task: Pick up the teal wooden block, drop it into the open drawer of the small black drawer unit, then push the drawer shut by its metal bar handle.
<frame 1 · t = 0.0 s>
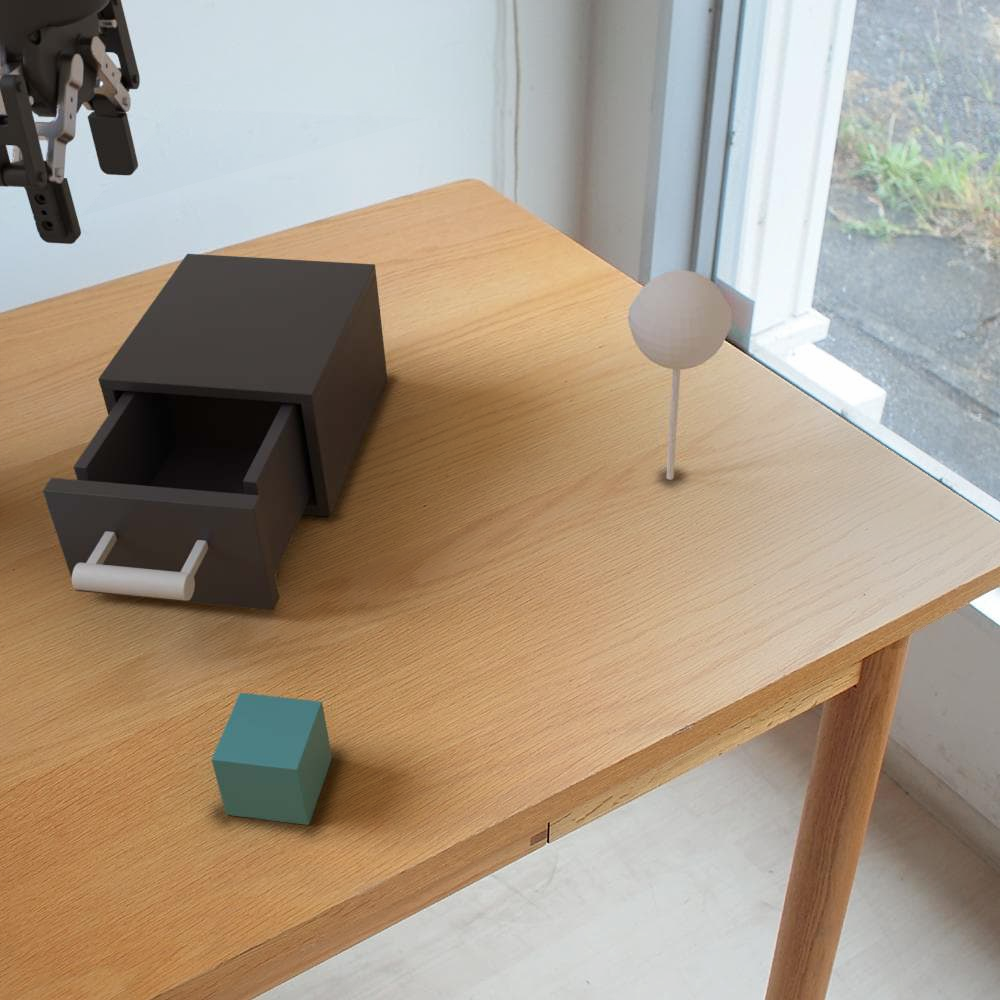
hand: (92, 205, 78), 19 cm above the table, tool pointing down, fingers open, 8 cm apart
drawer: (191, 495, 79), point 5 cm above the table, slide at 8.5 cm
cabinet: (266, 436, 92), on the table
block: (280, 785, 68), on the table
lollipop: (669, 480, 87), on the table
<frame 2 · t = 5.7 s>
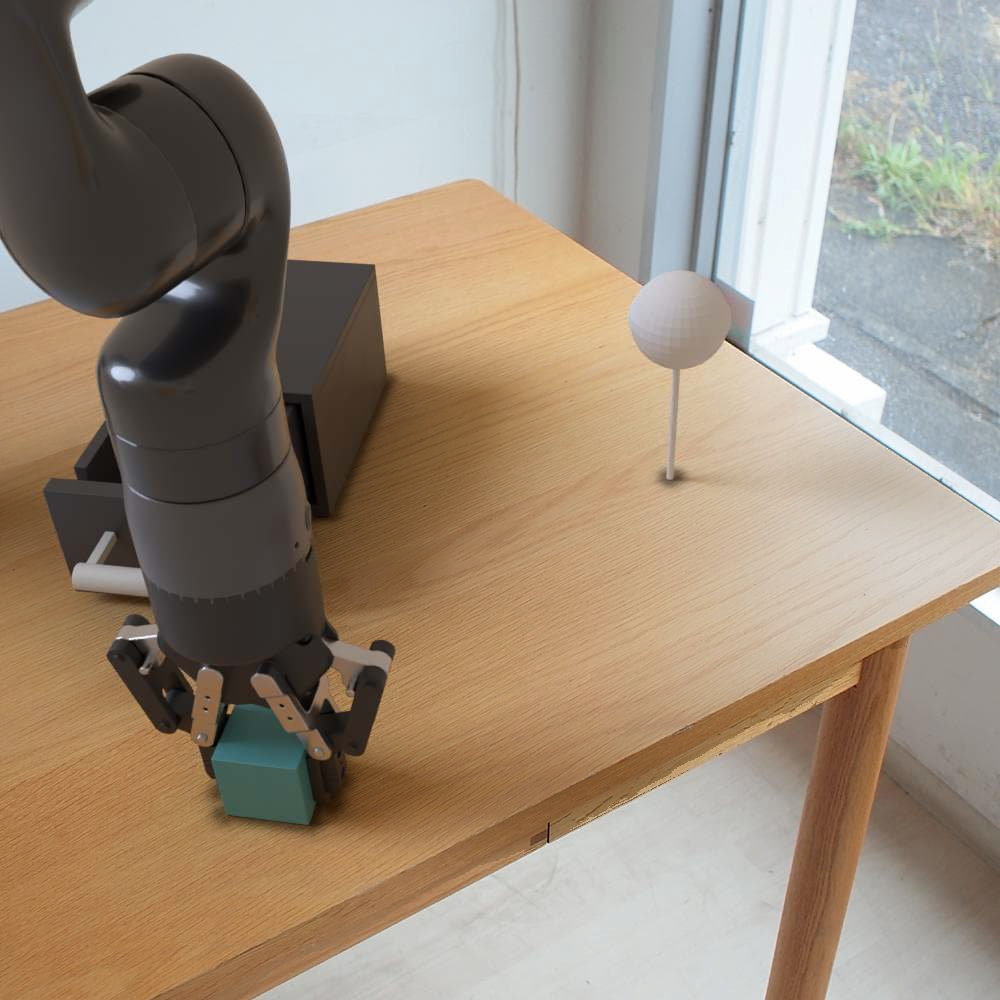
hand: (279, 781, 68), 0 cm above the table, tool pointing down, fingers closed on block, 4 cm apart
block: (280, 785, 68), on the table, touching gripper
everything else where it was.
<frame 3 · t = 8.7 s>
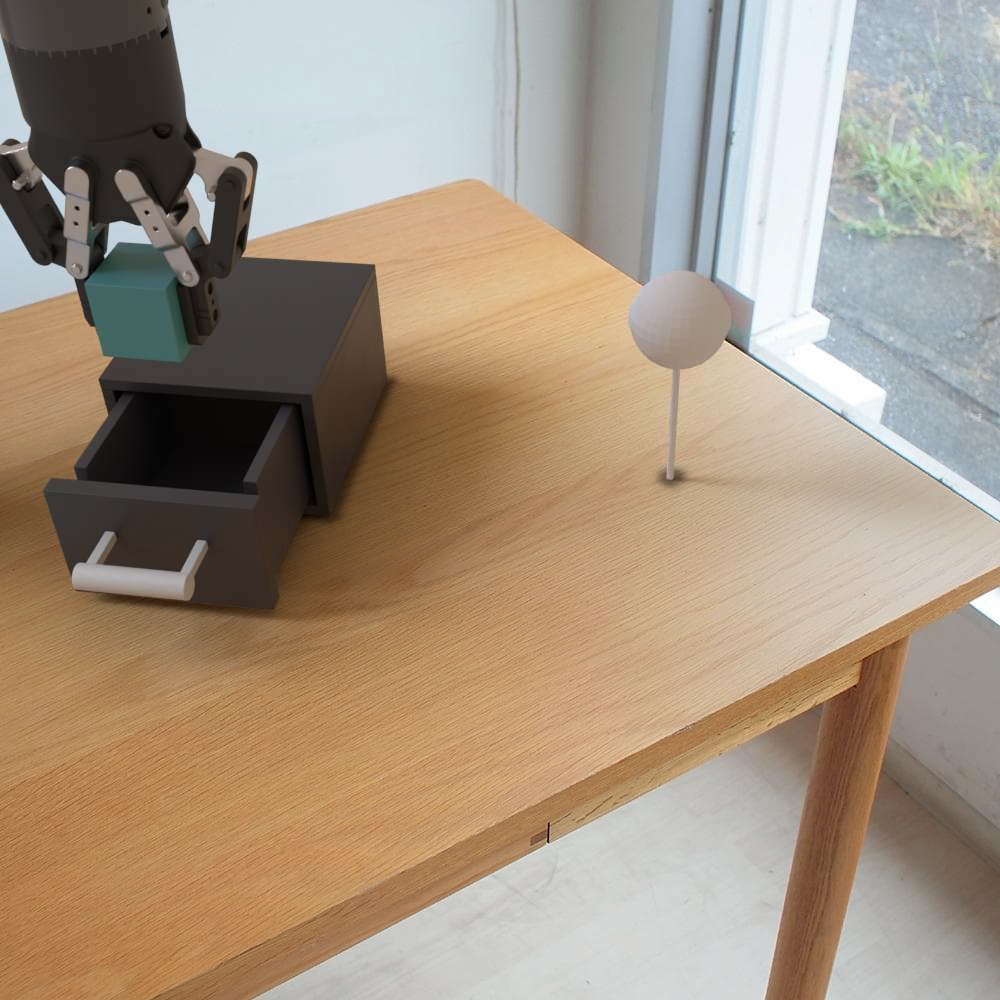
hand: (157, 332, 71), 17 cm above the table, tool pointing down, fingers closed on block, 4 cm apart
block: (157, 337, 71), point 17 cm above the table, touching gripper
everything else where it was.
when the fingers open (7 cm above the table, at t = 11.8 s): block drops 5 cm, resting on drawer.
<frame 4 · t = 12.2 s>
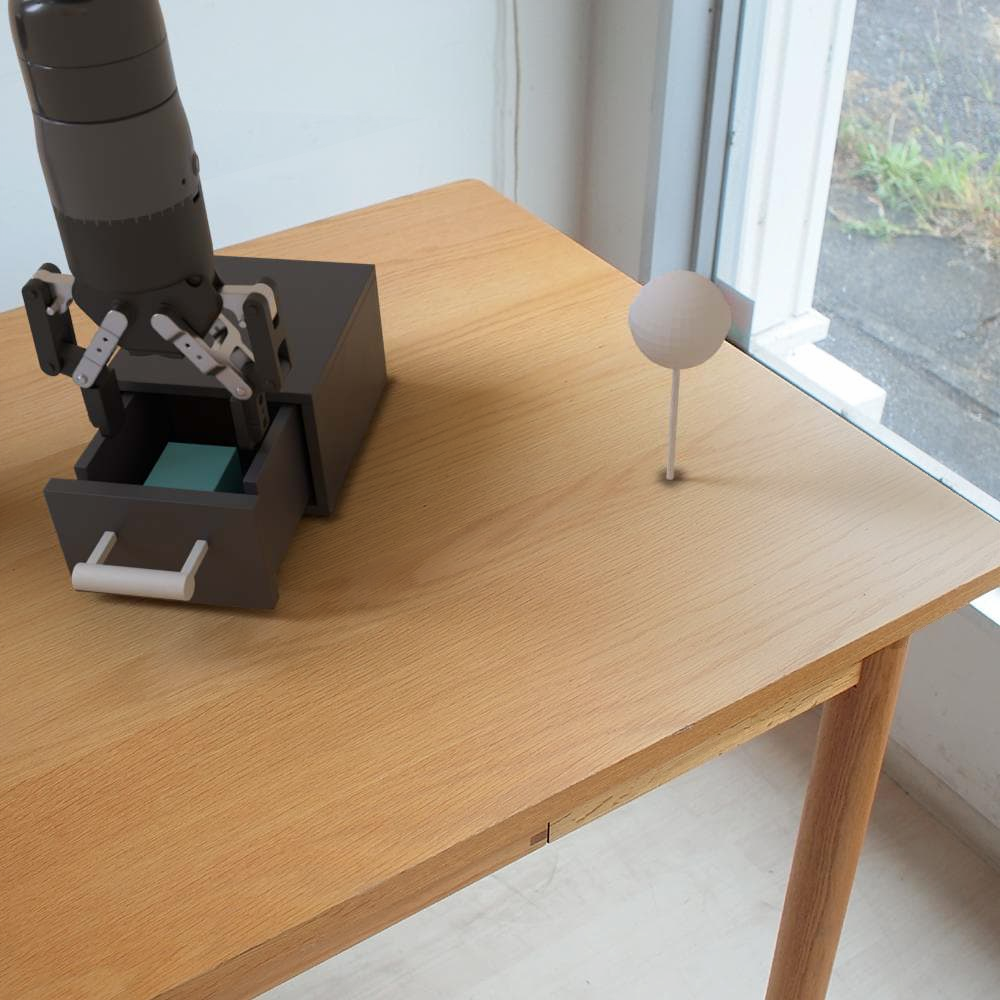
hand: (183, 435, 78), 9 cm above the table, tool pointing down, fingers open, 8 cm apart
drawer: (191, 495, 79), point 5 cm above the table, slide at 8.5 cm, touching block
block: (203, 522, 82), point 2 cm above the table, touching drawer
everything else where it was.
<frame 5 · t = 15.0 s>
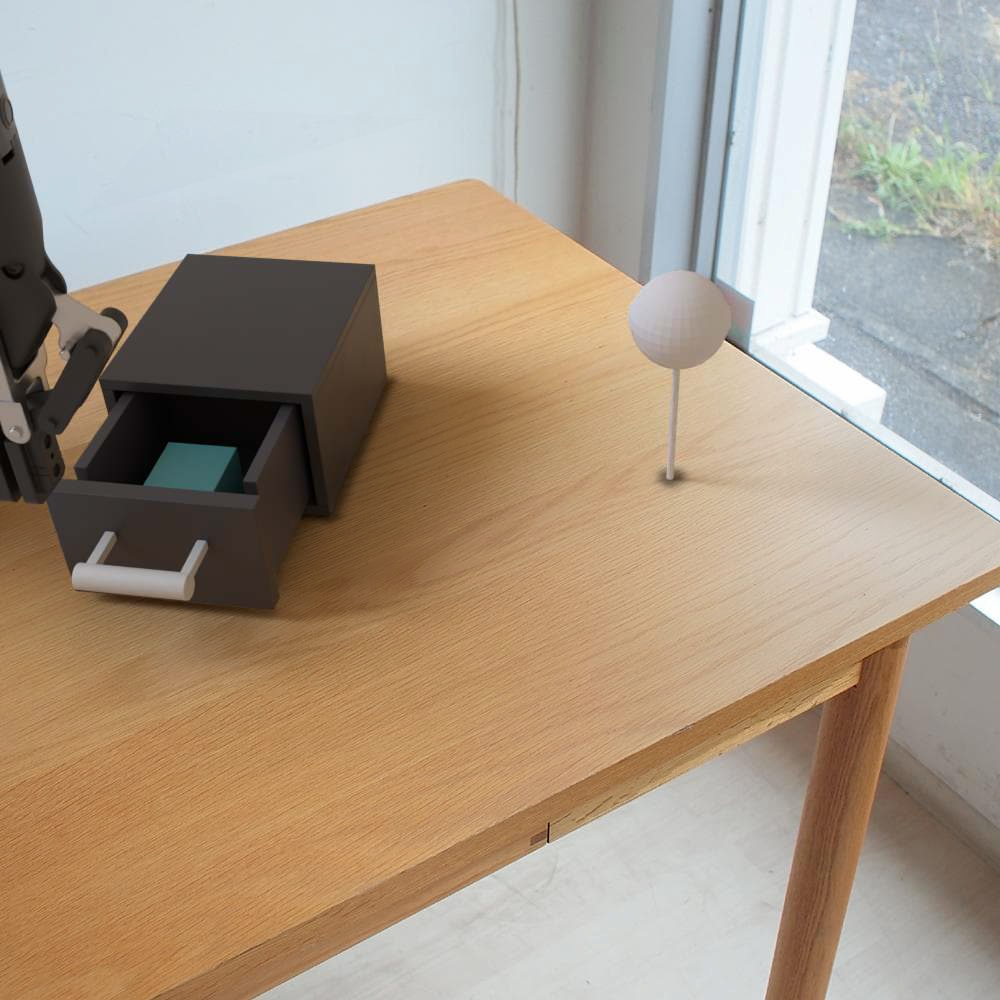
hand: (31, 491, 61), 17 cm above the table, tool pointing down, fingers closed
nothing on the table moved.
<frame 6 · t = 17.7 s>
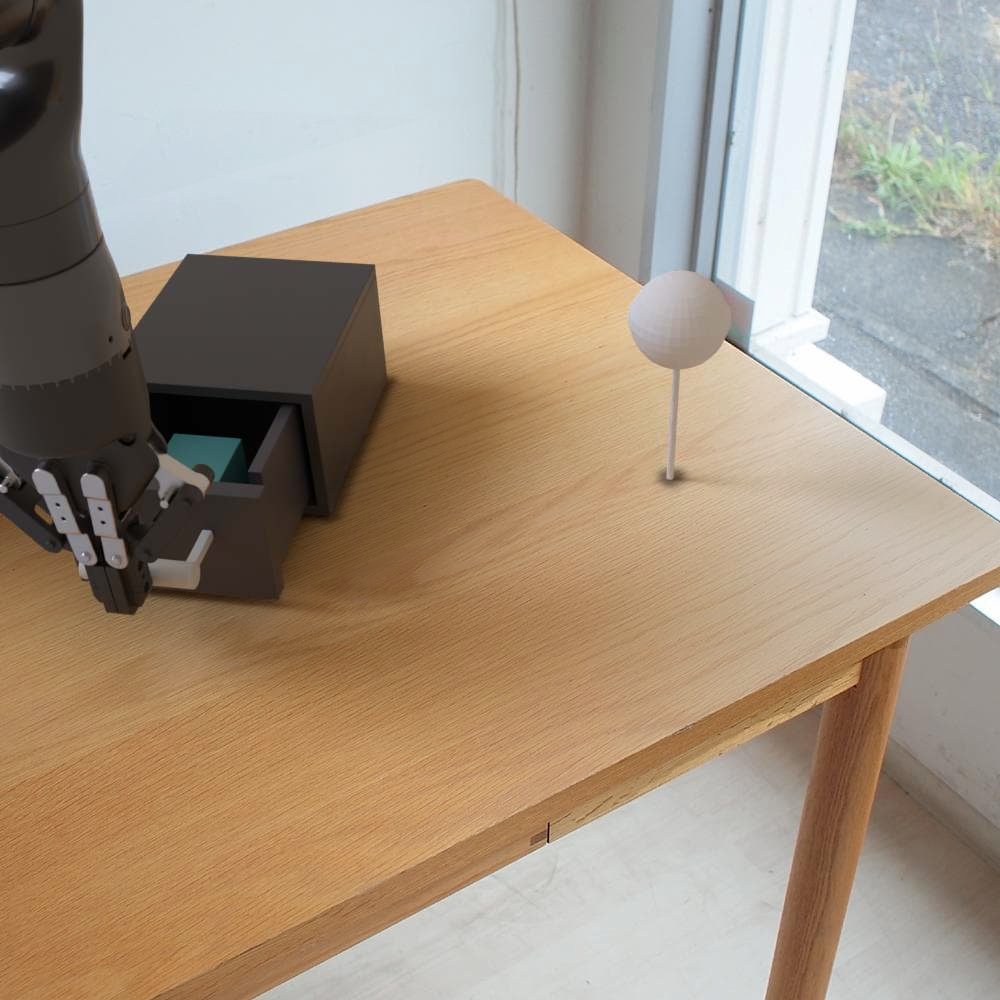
hand: (128, 603, 72), 5 cm above the table, tool pointing down, fingers closed
drawer: (196, 486, 80), point 5 cm above the table, slide at 7.6 cm, touching block, gripper
everything else where it was.
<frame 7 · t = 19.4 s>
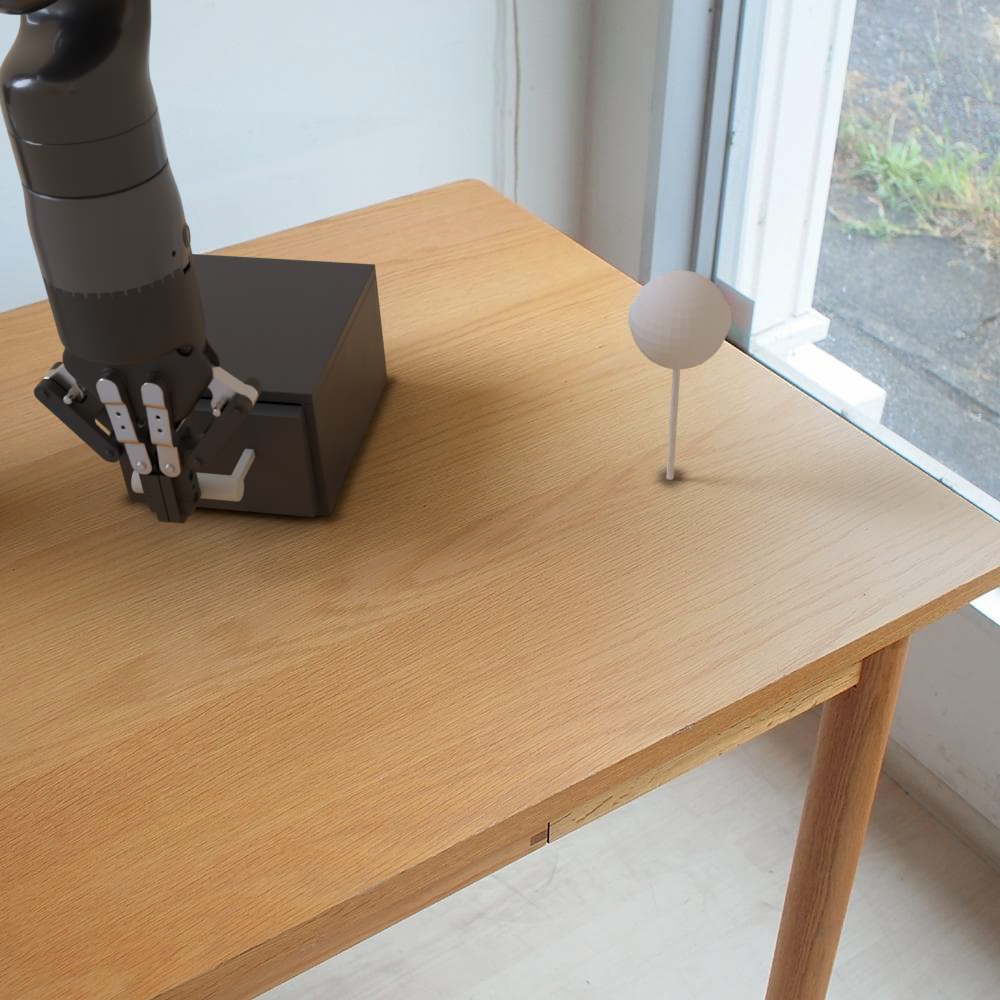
hand: (177, 513, 78), 5 cm above the table, tool pointing down, fingers closed
drawer: (237, 413, 86), point 5 cm above the table, slide at 0.0 cm, touching block, cabinet, gripper
block: (246, 440, 88), point 2 cm above the table, touching drawer
everything else where it was.
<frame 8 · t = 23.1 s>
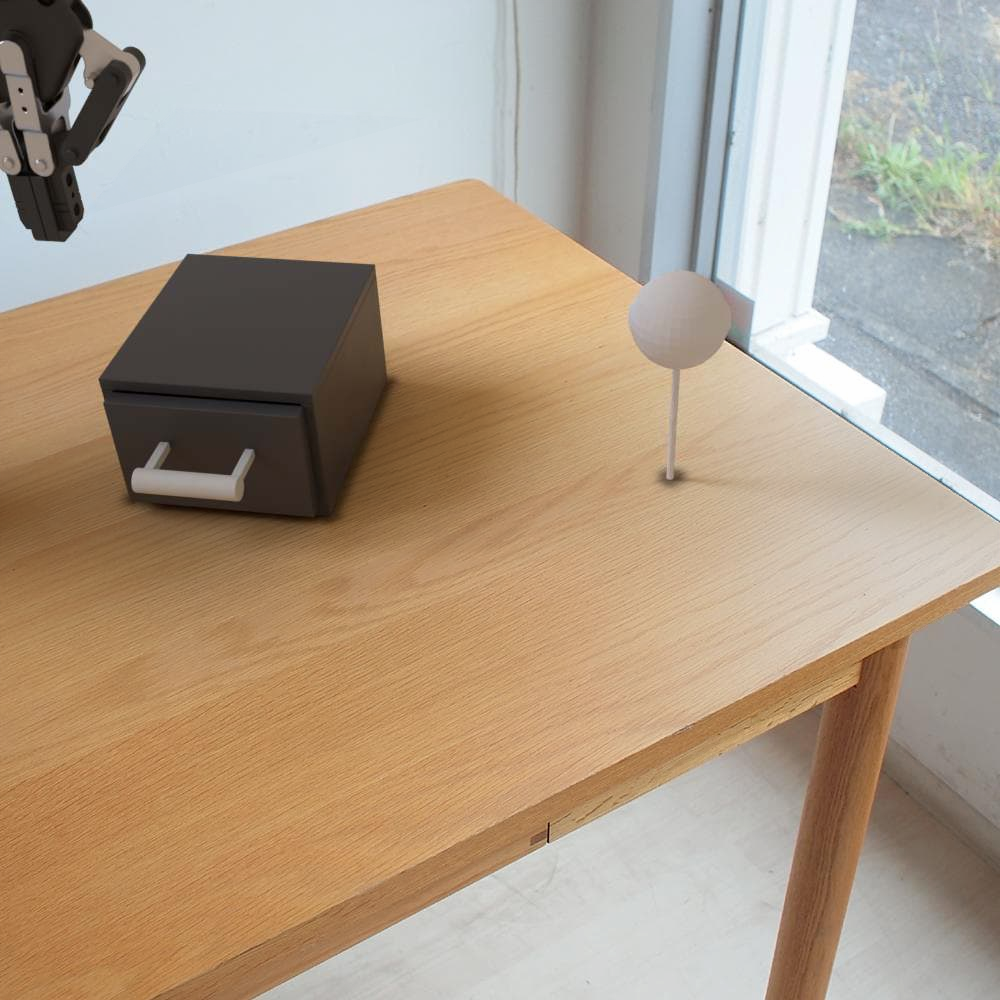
hand: (58, 233, 67), 23 cm above the table, tool pointing down, fingers closed
drawer: (237, 413, 86), point 5 cm above the table, slide at 0.0 cm, touching block, cabinet
everything else where it was.
at the end: block inside the target area in the cabinet (3.1 cm from its centre), point 2.0 cm above the cabinet's base; drawer slide at 0.0 cm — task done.
